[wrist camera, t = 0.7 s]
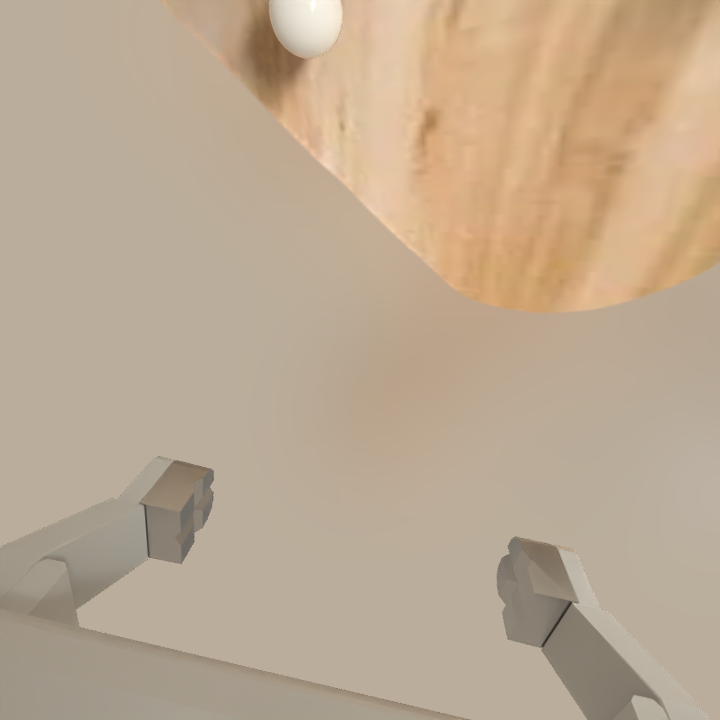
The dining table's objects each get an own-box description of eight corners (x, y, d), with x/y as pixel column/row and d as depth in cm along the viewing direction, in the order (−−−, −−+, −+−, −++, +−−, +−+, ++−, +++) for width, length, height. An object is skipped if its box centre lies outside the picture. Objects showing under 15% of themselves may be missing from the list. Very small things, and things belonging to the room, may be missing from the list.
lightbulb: (300, 51, 44) (265, 63, 36) (292, -31, 40) (250, -38, 32) (359, 49, 43) (336, 61, 35) (356, -34, 39) (330, -43, 31)
